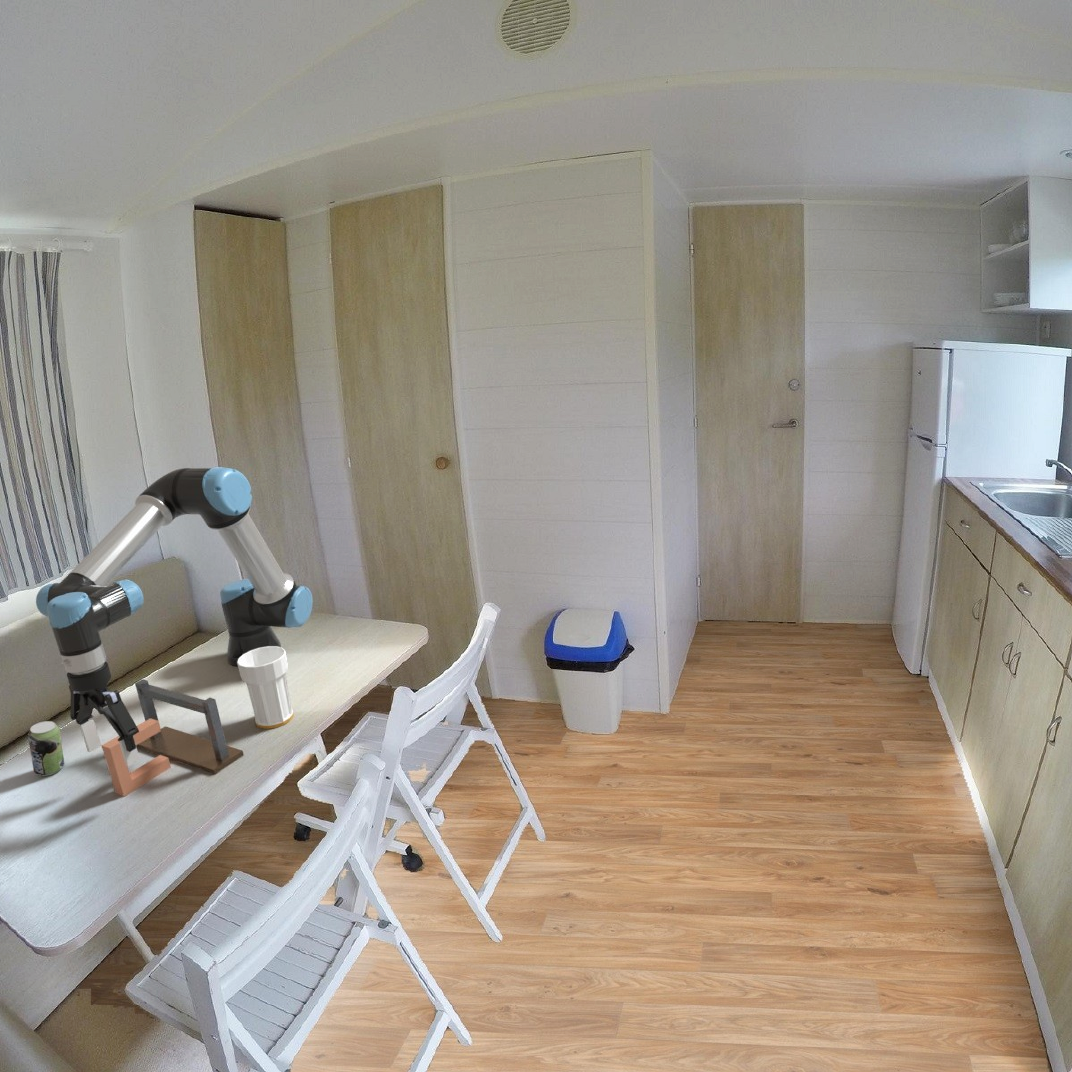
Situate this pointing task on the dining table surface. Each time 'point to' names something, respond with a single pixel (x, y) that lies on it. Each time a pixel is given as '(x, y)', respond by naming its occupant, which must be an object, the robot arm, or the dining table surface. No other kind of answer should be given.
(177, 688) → the dining table surface
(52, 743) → the beverage can
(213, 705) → the stand
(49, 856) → the dining table surface
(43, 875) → the dining table surface
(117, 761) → the c link
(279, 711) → the cup
